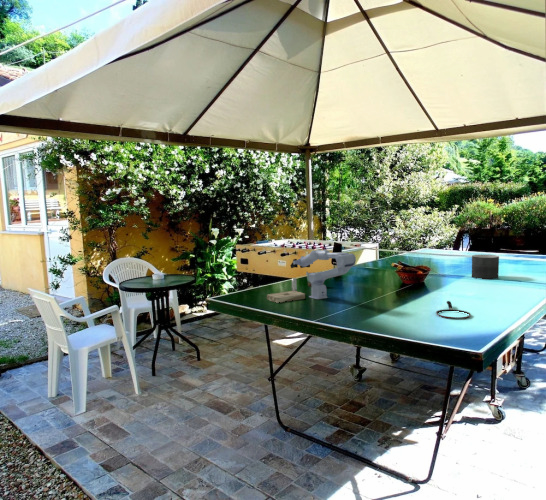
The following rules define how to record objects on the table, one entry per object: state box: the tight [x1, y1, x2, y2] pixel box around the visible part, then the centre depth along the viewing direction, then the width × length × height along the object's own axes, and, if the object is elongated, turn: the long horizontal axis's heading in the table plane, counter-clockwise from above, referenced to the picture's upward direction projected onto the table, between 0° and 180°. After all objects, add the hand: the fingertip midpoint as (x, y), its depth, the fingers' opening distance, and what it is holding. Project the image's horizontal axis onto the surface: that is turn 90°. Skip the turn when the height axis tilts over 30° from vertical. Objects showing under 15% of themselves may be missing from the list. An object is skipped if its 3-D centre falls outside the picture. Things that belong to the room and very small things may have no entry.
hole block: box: [266, 290, 306, 304], centre depth 271 cm, size 12×20×3 cm, turn 120°
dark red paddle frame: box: [435, 300, 472, 319], centre depth 229 cm, size 28×16×3 cm, turn 166°
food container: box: [305, 271, 316, 288], centre depth 308 cm, size 12×6×10 cm, turn 62°
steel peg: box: [291, 277, 298, 292], centre depth 285 cm, size 3×3×10 cm
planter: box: [471, 254, 500, 280], centre depth 323 cm, size 18×18×16 cm
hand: (295, 266), depth 288 cm, fingers open, 7 cm apart
